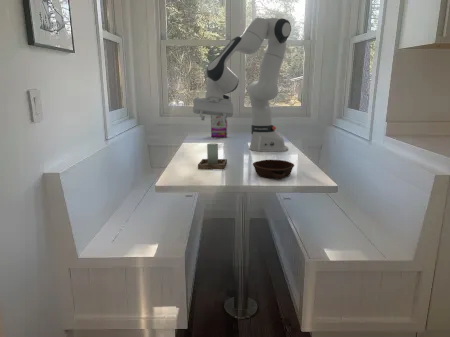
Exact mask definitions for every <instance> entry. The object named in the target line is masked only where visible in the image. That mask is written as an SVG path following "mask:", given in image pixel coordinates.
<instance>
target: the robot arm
mask: <svg viewBox="0 0 450 337" xmlns="http://www.w3.org/2000/svg"><path fill="white" fill-rule="evenodd" d="M291 25H292V24H291V22H290V21H289V20H288V19H285V18H282V17H267V18H264V17H255V18H253V19H252V20H251V22H250V23H248V25H247V27H246V28H245V29H244V31H243V33H242V34H241V35H240V36H239V35H238V36H235V37H233V38H232V39H231V40H230V41H229V42H228V43H227V44H226V45H225V47H224V48H223V49H222V50H221V51H220V53H219V54H218V55H217V56H216V57H215V58H214V59H213V60H212V61H211V62H210V63H208V65H207V68H206V75H207V77H208V78H207V80H206V87H205V89H206V92H205V95H204V96H205V97H196V98H195V97H194V98H193V101H192V102H193V106H192V112H193V114H199V116H200V120H201V121H205V116H206V115H207V116H211V115H215V116H223V118H221V120H220V122H223V121H224V119H225V118H226V117H227V118H232V117H233V115H234V106H233V105H234V104H233V102H232V97H231V96H229V95H226V94H230V93H232V92H234V91H235V90H236V89H237V88H238V86H239V82H240V79H239V77H238V76H237V74H235V72H233V71H232V70H231V69H230V68H229V67H228V66H227V62H228V61H229V59H230V58H231V57H232V56H233V54H234V53H235V52H239V53H242V54H244V55H253V54H255V53H256V52H258V51H259V49H260V48H261V46H262V45H263V42H264V41H265V40H267V46H266V48H265V50H264V52H263V55H262V59H261V63H260V66H259V71H260V72H259V79H258V80H255V81H253V82H251V83H249V85H248V87H247V94H248V96H249V100H250V105H251V120H252V121H251V128H250V129H251V130H250V132H251V138H250V139H251V140H250V144H249V148H248V149H249V150H251V151H256V152H259V153H261V152H264V153H268V152H287V151H289V147H288V146H287V145H285V140H284V138H283V136H281V135H280V134H279V133H277V131H276V129H277V127H276V126H275V125H273V124H272V121H273V120H272V119H273V118H272V116H273V115H272V113H273V112H272V108H271V107H270V103H269V101H272V100H274V99H276V97H277V96H278V93H279V87H278V80H279V74H280V70H281V66H282V63H283V60H284V57H285V55H286V54H285V53H286V49H287V48H286V47H287V40H288V39H289V37H290V34H291V32H292V26H291Z"/></svg>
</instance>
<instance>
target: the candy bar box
mask: <svg viewBox="0 0 450 337" xmlns="http://www.w3.org/2000/svg"><path fill="white" fill-rule="evenodd" d="M221 118H223V116H215V115H210V127H211V128H210V129H211V130H210V131H211V133H210V135H211V138H228V117H226V118H225V119H224V121H223V122H220V120H221Z"/></svg>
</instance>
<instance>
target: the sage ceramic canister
mask: <svg viewBox="0 0 450 337" xmlns="http://www.w3.org/2000/svg"><path fill="white" fill-rule="evenodd" d="M206 149H207V150H206V153H207V154H206V156H207V158H206V159H208V164H218V159H219V144H218V143H207V145H206Z"/></svg>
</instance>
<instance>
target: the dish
mask: <svg viewBox="0 0 450 337" xmlns="http://www.w3.org/2000/svg"><path fill="white" fill-rule="evenodd" d="M252 166H253V168H254V170H255V173H256V174H257V175H258V176H259V177H263V178H268V179H269V178H270V179H276V180H283V179H284V178H287V177H289V176H290V175H291V173H292V171H293V168H294V167H295V164H294V163H292V162H290V161H287V160H282V159H263V160H258V161H254V162H253V163H252Z"/></svg>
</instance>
